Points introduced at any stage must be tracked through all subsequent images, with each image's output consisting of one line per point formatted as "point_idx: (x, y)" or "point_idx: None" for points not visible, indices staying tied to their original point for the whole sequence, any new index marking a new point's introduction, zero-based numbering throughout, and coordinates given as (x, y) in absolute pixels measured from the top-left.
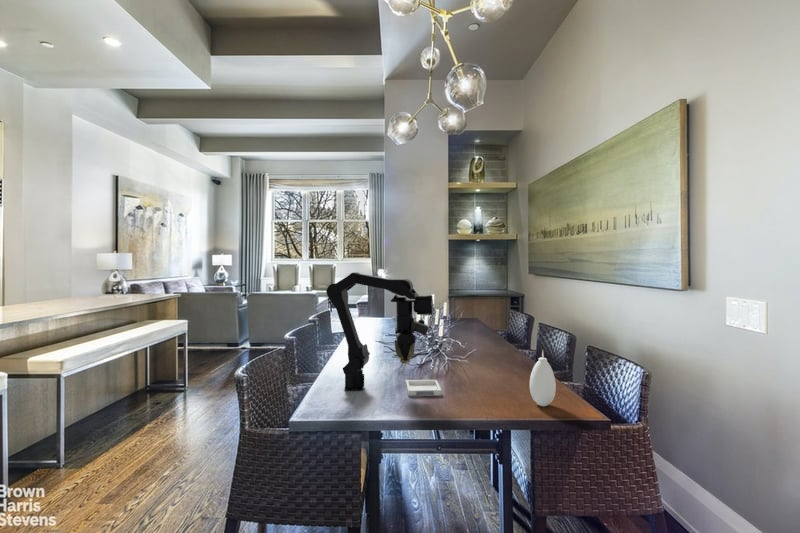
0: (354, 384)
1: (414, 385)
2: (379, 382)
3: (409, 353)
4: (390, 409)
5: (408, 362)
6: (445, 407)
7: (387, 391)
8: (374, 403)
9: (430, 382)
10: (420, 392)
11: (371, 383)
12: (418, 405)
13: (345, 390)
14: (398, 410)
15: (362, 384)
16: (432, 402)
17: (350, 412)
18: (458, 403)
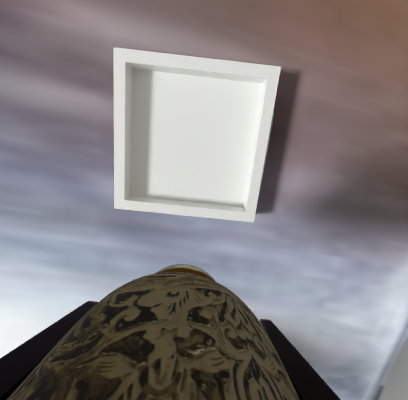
0: None
1: (141, 170)
2: (82, 288)
3: (278, 356)
4: (346, 285)
5: (213, 278)
6: (397, 97)
7: None
8: (285, 321)
9: (129, 89)
10: (263, 171)
11: None
12: (343, 195)
13: None
14: (362, 265)
15: None
16: (331, 136)
17: (331, 377)
18: (378, 21)
